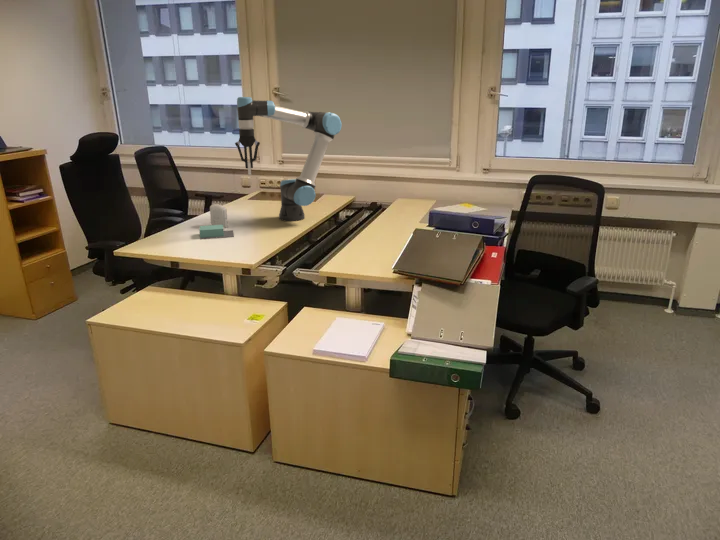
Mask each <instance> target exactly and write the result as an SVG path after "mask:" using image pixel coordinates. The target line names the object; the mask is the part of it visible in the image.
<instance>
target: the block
mask: <svg viewBox="0 0 720 540" xmlns="http://www.w3.org/2000/svg"><path fill="white" fill-rule="evenodd" d="M224 231H225V230H224V228H223V225H211V224H209V225H199V239H200V238H204V237H219V236H224Z"/></svg>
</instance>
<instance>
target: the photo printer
mask: <svg viewBox="0 0 720 540" xmlns="http://www.w3.org/2000/svg"><path fill="white" fill-rule="evenodd" d="M209 212H210V213H209V214H210V225H223V229H224V228H227V227H228V225H229V223H228V213H227V208H226V206H224V205H222V204H218V203H217V204H216V203H215V204H212V205H210V206H209Z"/></svg>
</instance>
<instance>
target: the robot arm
mask: <svg viewBox="0 0 720 540" xmlns="http://www.w3.org/2000/svg"><path fill="white" fill-rule="evenodd" d="M236 108H237V117H238V119H237V121H238V128H239V130H238V131H239V132H238V133H239V136H238V137H239V138H238V141H236V142H234V144H235V146H236V147H237V150H238V153H239V157H240V159H241V162H244V164H245V166H244V167H245V169H247V175H248V176H252V169H253V167H254V162H255V161H257V155H258V150H259V146H260V144H261V143H260V141H258V140H256V138H255V129H254V126H255V125H254V117H262V118H266V119H271V120H275V121H279V122H285V123H288V124H293V125H297V126H301V127H302V129H307V130H311V131H313V134H314V138H313V141H312V144H311V146H310V149H309V151H308V155H307V157H306V159H305V163H304V165H303V168H302V170H301V173H300V175H299V176H298V177H297V178H294V179H293V178H291V179H283V180H281V181H280V186H279V188H280V200H281V201H280V202H281V203H280V204H281V205H280V209H279V214H278V219H279V220H280V219H281V221H284V220H285V222H287V221H288V222H294V221H295V222H296V220H297V221H301V219H302V220H304V219H305V218H306V215H305V212H304V209H303V207H306V206H309V205H311V204H313V203H314V201H315V199H316V190H315V189H316V183H315V181H316V178H317V176H318V173H319V171H320V167H321V165H322V162H323V160H324V158H325V155H326V151H327V149H328V147H329V144H330V142H333V141H334V138H335V136H336V135H338V134H339V133H340V132H341V130H342V124H343V123H342V121H341V118H340V116H339V115H338V114H336V113H333V112H331V111H329V112H326V111H325V112H324V111H308V110H304V111H300V110H296V109H292V108H287V107H283V106H279V105H276V104H275V103H274V101H273V100H254V99H253V98H252V97H250V96H238V97H237V99H236ZM241 145H242V147H243V151H244V152H242V150H241V147H240V146H241ZM253 146H255V148H254V154H253V149H252V147H253ZM247 149H248V150H247ZM243 153H244V155H243ZM248 153H249V154H248ZM248 155H249V161H248Z"/></svg>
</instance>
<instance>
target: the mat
mask: <svg viewBox="0 0 720 540" xmlns="http://www.w3.org/2000/svg"><path fill="white" fill-rule="evenodd" d="M234 237H235V234H234V230H224V236H219V237H204V238H200V237H199V239H200V240H209V239H211V240H212V239H225V238H234Z"/></svg>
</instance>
